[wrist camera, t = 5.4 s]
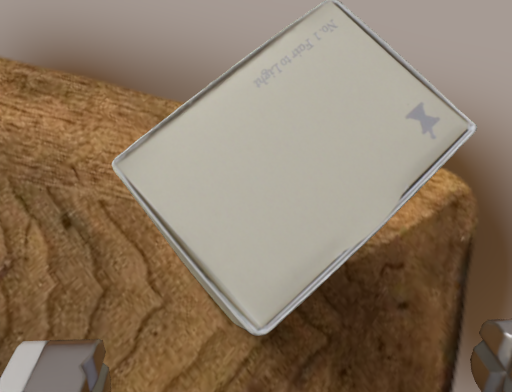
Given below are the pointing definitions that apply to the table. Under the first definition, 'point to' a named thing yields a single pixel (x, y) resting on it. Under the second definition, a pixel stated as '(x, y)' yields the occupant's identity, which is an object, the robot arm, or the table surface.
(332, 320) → the table surface
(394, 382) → the table surface
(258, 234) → the cosmetic box
